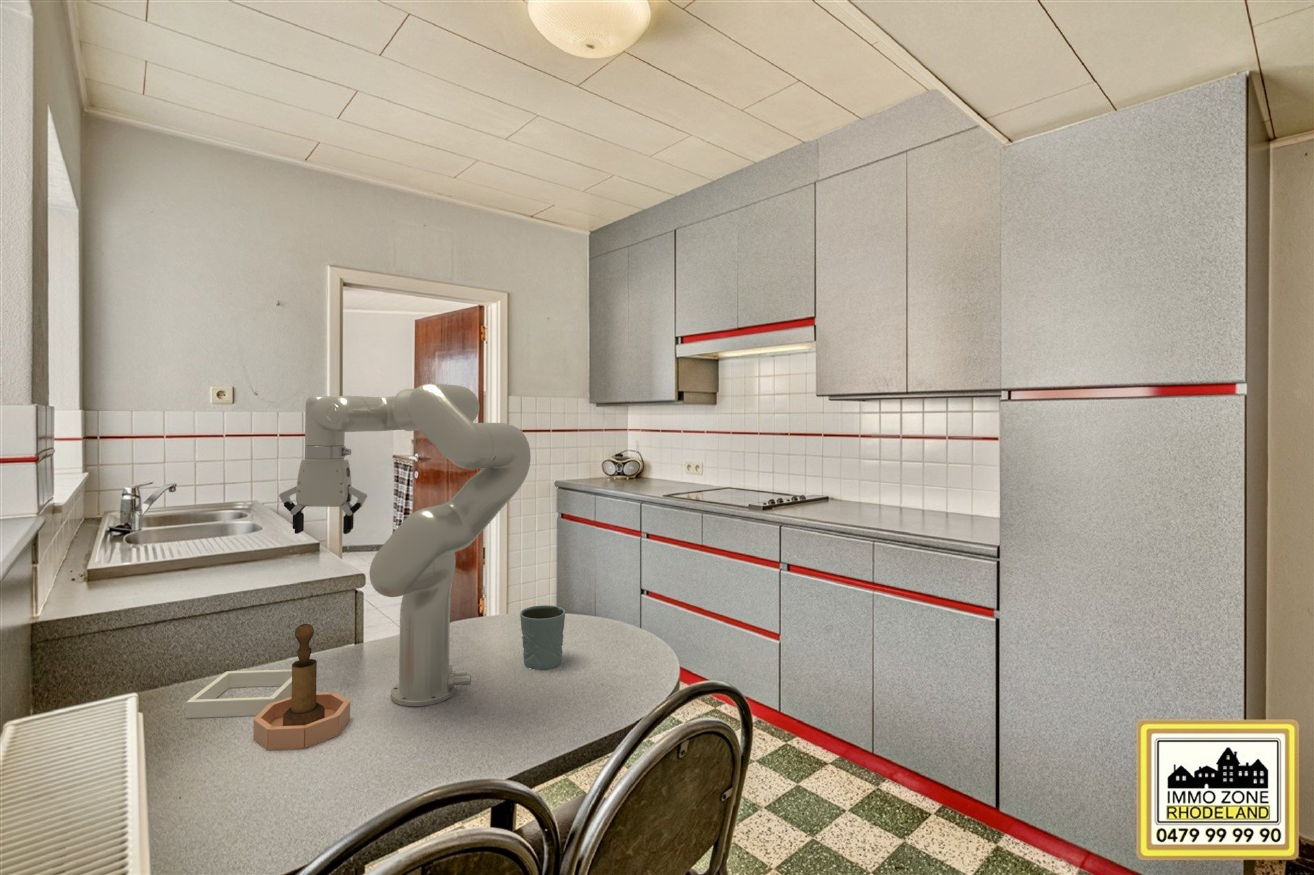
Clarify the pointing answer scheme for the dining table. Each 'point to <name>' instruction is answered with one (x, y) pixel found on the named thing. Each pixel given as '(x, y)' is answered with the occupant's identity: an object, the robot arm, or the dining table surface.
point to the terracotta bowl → (299, 737)
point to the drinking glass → (542, 636)
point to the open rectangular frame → (209, 706)
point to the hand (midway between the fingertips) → (323, 532)
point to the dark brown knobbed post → (304, 683)
